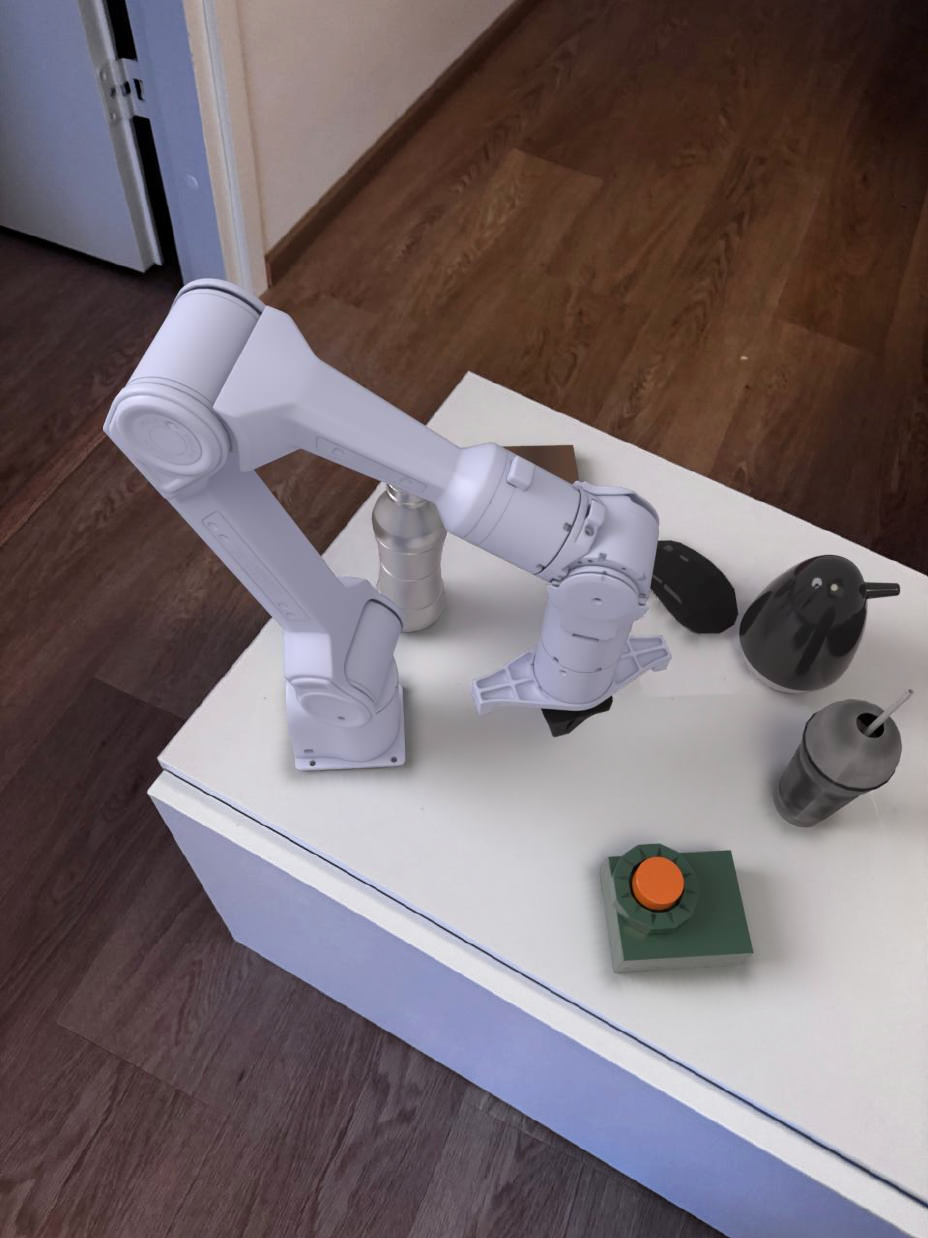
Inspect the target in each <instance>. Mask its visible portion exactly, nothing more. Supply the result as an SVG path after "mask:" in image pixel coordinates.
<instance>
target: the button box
mask: <svg viewBox="0 0 928 1238" xmlns="http://www.w3.org/2000/svg"><path fill="white" fill-rule="evenodd" d="M652 857H663V858H666V859H668V860H670V861H672V862H673V863H674V864H675V865H676V866H677V867H678V868H679V869H680V871H681V873H682V875H683V879H684V888H683V891H682V893H681V895H680V897H679V898H678V899H677V900H676V902H675V903H674V904H673V905H672V906H670V907H669V908H667V909H664V910H653V909H649V908H647V907H645V906H644V905H642V904H641V903H640V902H639V901H638V900H637V898H636V897H635V895H634V892H633V888H632V880H633V876H634V874H635V872H636V871H637V869H638V868H639V866H640V865H641V863H642V862H644V861H645V860H647V859H649V858H652ZM599 880H600V887H601V894H602V901H603V902H602V903H603V908H604V915H605V922H606V929H607V935H608V944H609V951H610V956H611V963H612V971H613V974H620V973H622V974H623V973H638V972H639V973H640V972H654V971H671V970H672V971H673V970H685V969H686V970H687V969H702V968H718V967H733V966H734V967H736V966H739V965H740V964H742V963H743V962H744V961H745V960H747V958H749V957H750V956H752V954H754V949H753V945H752V940H751V939H752V938H751V935H750V930H749V926H748V921H747V916H746V914H745V908H744V903H743V898H742V894H741V890H740V886H739V882H738V880H739V879H738V876H737V872H736V867H735V862H734V857H733V852H732V850H731V849H727V850H726V849H725V850H709V851H689V852H687V851H686V852H679V851H677V850H674V849H673V848H671V847H668V846H666V845H664V844H662V843H643V844H641V843H640V844H637V845H635V846H634V847H633V848H631V849H629V850H628V851H627V852H625V853H624V854H622V855H615V856H607V858H606V859H605V861H604V863H603V865H602V867H601V870H600V871H599Z"/></svg>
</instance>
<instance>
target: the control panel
mask: <svg viewBox="0 0 928 1238" xmlns="http://www.w3.org/2000/svg"><path fill="white" fill-rule="evenodd" d="M500 446H501V447H503V448H505V449H507V450H509V451H511V452H513V453H514V454H516V455H518V456H520V457H522V458H524V459H526V460H527V461H529V462H531V463H533V464H535V465H537V466H539V467H541V468H542V469H544V470H546V471H548V472H550V473H552V474H554V475H555V476H557V477H559V478H561V479H563V480H565V481H567V482H569V483H570V484H573V483H574V482H575V481H580V476H579V470H578V465H577V464H578V463H577V459H576V454H575V447H574V444H548V445H545V444H544V445H543V444H542V445H500Z"/></svg>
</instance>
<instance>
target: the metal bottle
mask: <svg viewBox="0 0 928 1238" xmlns="http://www.w3.org/2000/svg"><path fill="white" fill-rule="evenodd" d="M371 524H372V530H373V533H374V538H375V541H376V545H377V548H378V556H379V570H378V578H377V581H376V584H375V587H374V589H375V590H376V591H377V592H379V593H380V594H382V595H384V596H386V597H387V598H389V599H390V600H391V601H393V602H394V603H395V604H396V605H397V606H398V607H399V608H400V610H401V611H402V613H403V614H404V617H405V626H404V628H403V631H402V632H405V633H406V632H407V633H414V632H419V631H422V630H425V629H427V628H429V627H430V626H432V625H433V624H434V623H436V622H437V620H438V619H439V618H440V616H441V614H442V613H443V609H444V606H445V603H446V598H447V597H446V595H447V594H446V588H445V584H444V580H443V575H442V564H441V563H442V556H443V550H444V545H445V542H446V539H447V535H448V533H449V532H448V531H447V530H446V529H445V527H444V525H443V522H442V519H441V517H440V514H439V512H438V509H437V507H436V505H435V504H434V503H433V502H430V501H428V500H426V499H423V498H421V497H418V496H416V495H413V494H411V493H408V492H406V491H404V490H401V489H399V488H396V487H394V486H391V485H389V484H386V483H385V490H384V491H383V492H382V493H381V494H380V495H379V496H378V498H377V500H376V501H375V503H374V506H373V508H372V511H371Z"/></svg>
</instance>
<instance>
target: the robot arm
mask: <svg viewBox="0 0 928 1238" xmlns="http://www.w3.org/2000/svg"><path fill="white" fill-rule="evenodd" d="M102 427H103V428H102V430H103V432H104V433H105V434H106V436H108V437H109V439H110V440H111V441H112V442H113V443H114V444H115V445H116V446H117V447H118V449H119V451H121V452H122V453H123V454H124V455H125V456H126V457H127V458H128V460H129V461H130V462H131V463H132V464H133V465H134V467H135V468H136V469H137V470H138V471H139V472H140V473H141V474H142V476H144V477H145V479H146V480H147V481H148V482H149V483H150V484H151V485H152V487H153V488H154V489H155V490H156V491H157V492H158V493H159V495H160V496H161V497H162V498H163V499H165V500H167V502H168V503H169V504H170V505H171V506H172V507H173V509H174V510H175V511H176V512H178V514H179V515H180V516H181V517H182V518H183V520H184V521H185V522H186V523H187V524H188V525H189V526H190V527H191V528H192V529H193V530H194V531H195V533H196V534H197V535H198V536H199V537H200V539H202V541H203V542H204V543H205V544H206V545H207V546H208V548H209V549H210V550H211V551H213V553H214V554H215V555H216V556H217V557H218V558H219V559H220V561H221V562H222V563H223V564H224V566H226V568H228V570H229V571H230V572H231V573H232V574H233V575H234V576H235V577H236V578H237V580H238V581H239V582H240V583H241V584H242V585H243V587H245V589H246V590H247V591H248V592H249V593H250V594H251V595H252V597H254V598H255V599H256V601H257V602H258V603H259V604H260V605H261V606H262V608H263V609H265V611H266V612H267V614H269V615H270V617H272V619H273V620H274V621H275V622H276V623H277V625H279V626H280V627H281V629H282V631H283V632H282V633H283V676H284V679H285V711H286V722H287V729H288V733H289V737H290V741H291V747H292V750H293V753H294V759H295V760H294V765H295V768H296V770H298V771H301V772H302V771H303V772H304V771H305V772H306V771H323V770H324V771H325V770H326V771H327V770H345V769H369V768H371V769H372V768H392V767H403V766H404V765H405V764H406V761H407V760H406V759H407V756H406V737H405V735H406V734H405V712H404V711H405V709H404V688H403V685H402V684H401V683H400V680H399V669H398V665H397V662H396V659H395V655H394V653H395V650H396V647H397V644H398V641H399V637H400V635H401V634H402V633H403V632H404V631H403V628H404V626H405V617H404V614H403V613H402V611H401V610H400V608H399V607H398V606H397V605H396V604H395V603H394V602H393V601H391V600H390V599H389V598H387V597H386V596H384V595H382V594H380V593H379V592H377V591H376V590H375V587H374V586H373V585H372V584H371V582H370V581H369V579H366V578H362V577H356V576H337V575H336V574H335V572H333V570H332V569H331V568H330V566H329V564H328V563H327V562H326V561H325V560H324V558H323V557H322V556H321V555H320V553H319V552H318V551H317V549H316V548H315V547H314V546H313V544H312V543H311V542H310V540H309V539H308V538H307V537H306V535H305V534H304V532H303V531H302V530H301V529H300V528H299V526H298V525H297V524H296V522H295V521H294V520H293V518H292V517H291V515H290V514H289V513H288V512H287V510H286V509H285V508H284V507H283V505H282V504H281V503H280V502H279V501H278V499H277V498H276V496H275V495H274V494H273V493H272V491H271V490H270V488H269V487H268V486H267V484H266V483H265V482H264V481H263V479H262V478H261V477H260V476H259V474H258V473H257V472H256V471H255V470H256V469H258V468H260V467H263V466H265V465H267V464H269V463H271V462H274V461H276V460H278V459H281V458H283V457H285V456H287V455H289V454H292V453H294V452H296V451H298V450H303V451H306V452H308V453H311V454H313V455H315V456H318V457H319V458H323V459H325V460H328V461H330V462H333V463H335V464H337V465H340V466H342V467H346V468H347V469H350V470H352V471H355V472H357V473H360V474H362V475H364V476H366V477H369V478H372V479H374V480H377V481H379V482H381V483H384V484H385V485H386V484H389V485H391V486H394V487H396V488H399V489H401V490H404V491H406V492H408V493H411V494H413V495H416V496H418V497H421V498H423V499H426V500H428V501H430V502H433V503H434V504H435V505H436V507H437V509H438V512H439V514H440V517H441V519H442V522H443V525H444V527H445V529H446V530H447V531H448V532H447V533H449V534H451V535H452V536H454V537H456V538H459V539H461V540H463V541H465V542H466V543H468V544H470V545H472V546H474V547H477V548H479V549H480V550H483V551H485V552H486V553H489V554H490V555H493V556H494V557H497V558H499V559H501V560H503V561H505V562H507V563H508V564H510V565H513V566H515V567H516V568H519V569H521V570H523V571H525V572H526V573H529V574H531V575H532V576H535V577H536V578H539V579H541V580H542V581H545V582H546V583H549V584H547V586H546V592H547V600H546V604H545V610H544V614H543V619H542V623H541V627H540V632H539V637H538V641H537V644H535V645H533V646H532V647H531V648H529V649H527V650H526V651H524V652H522V653H521V654H519V655H518V656H516V657H515V658H513V659H512V660H510V661H509V662H507V663H506V664H504V665H502V666H501V667H499V668H498V669H496V670H494V671H493V672H490V673H489V674H486V675H484V676H481V677H477V678H474V679H472V682H471V690H470V691H471V692H470V694H471V695H472V700H473V703H474V706H475V708H476V711H477V714H478V716H485V715H488V714H491V713H493V711H494V707H496V706H498V707H499V706H502V707H504V706H505V707H519V708H520V707H521V708H533V709H540V710H541V714H542V715H543V718H544V719H545V721H546V723H547V725H548V728H549V730H550V733H551V736H552V737H553V738H557V737H561V736H565V735H569V734H571V733H572V732H574V730H576V728H578V727H579V726H580V725H581V724H582V723H583V722H585V721H586V720H588V719H589V718H591V717H593V716H596V715H598V714H603V713H606V712H608V711H610V710H611V708H612V704H613V702H614V695H615V694H617V692H619V691H621V690H622V689H624V688H625V687H626V686H628V685H630V684H631V683H633V682H634V681H635V680H637V679H638V678H640V677H641V676H642V675H644V674H645V673H647V672H648V671H650V670H651V671H652V672H654V673H657V672H661V671H665V670H667V668H668V666H669V664H670V662H671V660H672V657H673V655H672V653H671V651H670V649H669V647H668V644H667V643H666V641H665V640H666V639H665V638H664V636H663V634H656V635H650V636H633V635H630V633H631V630H632V629H633V626H634V623H635V622H637V621H638V620H640V619H642V618H643V617H644V616H645V615H646V614H647V613H648V611H649V609H650V607H649V606H648V605H647V602H648V600H649V596H650V591H651V589H650V585H651V579H652V573H653V567H654V561H655V555H656V549H657V543H658V541H659V537H660V517H659V514H658V512H657V509H656V508H655V507H654V506H653V505H652V504H651V503H650V502H649V501H648V500H646V498H644V497H643V496H641V495H639V494H638V493H637V492H636V491H635V490H633V489H630V488H626V487H622V486H615V485H595V484H592V483H590V482H588V481H586V480H584V481H581V480H579V481H575V482H574V483H573V484H570V483H569V482H567V481H565V480H563V479H561V478H559V477H557V476H555V475H554V474H552V473H550V472H548V471H546V470H544V469H542V468H541V467H539V466H537V465H535V464H533V463H531V462H529V461H527V460H526V459H524V458H522V457H520V456H518V455H516V454H514V453H513V452H511V451H509V450H507V449H505V448H503V447H501V446H502V445H500V444H498V443H496V442H492V441H490V442H483V443H480V444H475V445H471V446H466V447H460V446H458V445H456V444H455V443H454V442H452V441H450V440H449V439H447V438H445V437H444V436H442V434H441V435H440V434H439V433H438V432H436V431H434V430H433V429H431V428H430V427H428V426H427V425H425V424H423V423H422V422H420V421H418V420H417V419H415V418H414V417H412V416H411V415H409V414H408V413H406V412H404V411H403V410H401V409H400V408H399V407H396V406H395V405H393V404H392V403H390V402H389V401H387V400H385V399H384V398H382V397H381V396H379V395H377V394H376V393H374V392H373V391H371V390H370V389H368V388H366V387H364V386H363V385H362V384H360V383H358V382H357V381H355V380H354V379H352V378H350V377H349V376H347V375H346V374H344V373H343V372H341V371H339V370H338V369H336V368H335V367H334V366H332V365H330V364H328V363H327V362H325V361H323V360H322V359H320V358H319V357H318V356H317V355H316V354H315V353H314V351H313V349H312V347H311V346H310V345H309V343H308V341H307V340H306V339H305V337H304V335H303V333H302V332H301V330H300V329H299V327H298V326H297V324H296V323H295V321H294V320H293V318H292V317H291V316H290V315H289V314H288V313H286V312H285V311H282V310H280V309H277V308H275V307H272V306H270V305H266V304H265V303H264V302H263V301H262V300H261V299H260V298H258V297H257V296H256V295H254V293H252V292H250V291H249V290H248V289H246V288H244V287H242V286H240V285H238V284H236V283H233V282H230V281H228V280H224V279H221V278H210V277H209V278H207V277H206V278H205V277H204V278H197V279H195V280H192V281H190V282H188V283H187V284H185V285H184V286H182V287H181V289H179V291H178V293H177V295H176V296H175V298H174V300H173V303H172V304H171V307H170V309H169V312H168V313H167V316H166V318H165V320H164V322H163V323H162V324H161V326H160V328H159V330H158V331H157V333H156V334H155V336H154V338H153V339H152V341H151V343H150V345H149V346H148V348H147V350H146V351H145V353H144V355H143V356H142V358H141V359H140V361H139V363H138V364H137V366H136V368H135V369H134V371H133V373H132V374H131V376H130V377H129V379H128V381H127V383H126V384H125V386H124V387H122V388H121V389H120V391H119V393H118V394H116V396H115V397H114V399H113V401H112V403H111V406H110V408H109V411H108V413H107V415H106V418H105V422H104V424H103V426H102ZM393 759H394V760H396V761H392V760H393ZM312 763H314V765H312Z"/></svg>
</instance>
